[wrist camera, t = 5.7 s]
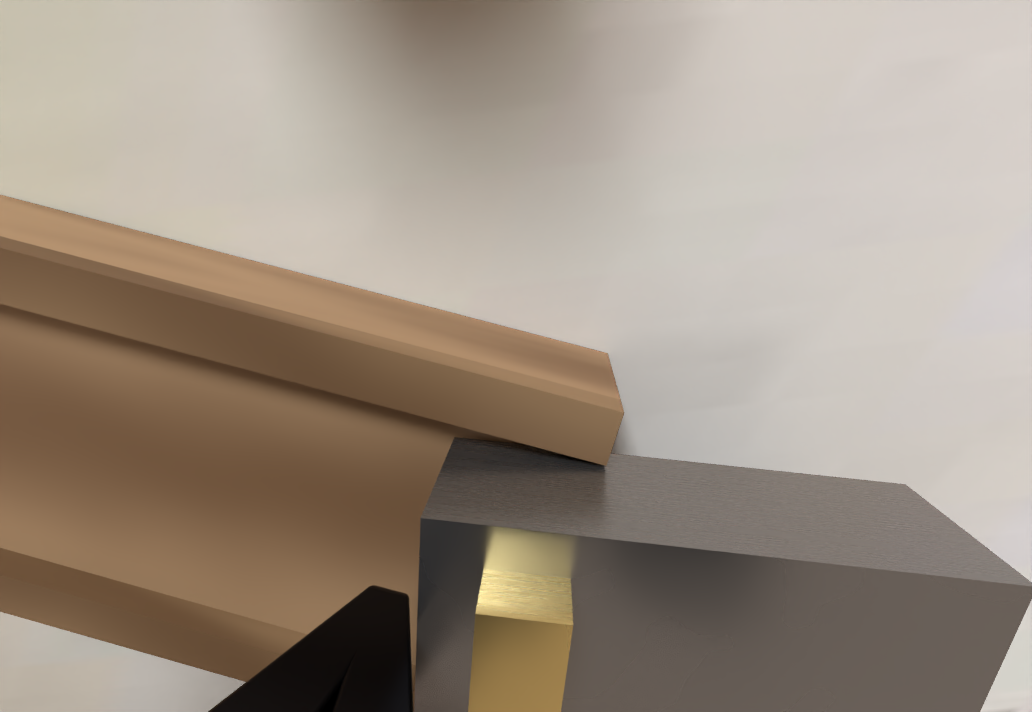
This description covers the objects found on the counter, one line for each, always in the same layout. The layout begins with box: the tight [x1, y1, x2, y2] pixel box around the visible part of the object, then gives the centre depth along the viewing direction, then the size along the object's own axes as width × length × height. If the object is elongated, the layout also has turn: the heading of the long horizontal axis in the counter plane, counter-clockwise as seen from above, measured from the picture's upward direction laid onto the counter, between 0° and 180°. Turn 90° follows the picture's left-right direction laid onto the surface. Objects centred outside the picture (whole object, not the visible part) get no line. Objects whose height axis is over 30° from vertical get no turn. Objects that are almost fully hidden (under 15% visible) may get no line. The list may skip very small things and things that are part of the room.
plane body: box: [0, 195, 624, 712], centre depth 11 cm, size 8×15×4 cm, turn 76°
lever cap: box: [414, 437, 1032, 712], centre depth 8 cm, size 5×8×3 cm, turn 85°
